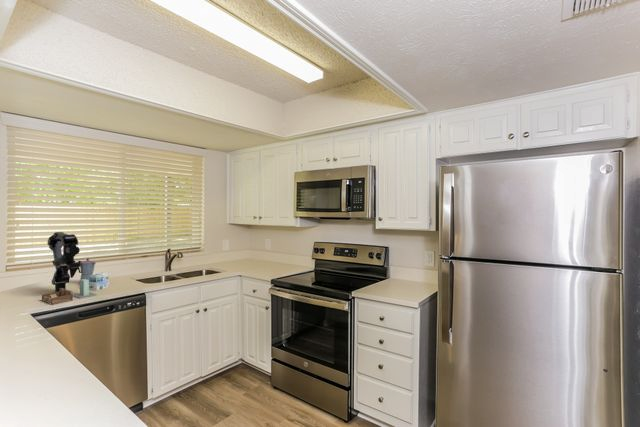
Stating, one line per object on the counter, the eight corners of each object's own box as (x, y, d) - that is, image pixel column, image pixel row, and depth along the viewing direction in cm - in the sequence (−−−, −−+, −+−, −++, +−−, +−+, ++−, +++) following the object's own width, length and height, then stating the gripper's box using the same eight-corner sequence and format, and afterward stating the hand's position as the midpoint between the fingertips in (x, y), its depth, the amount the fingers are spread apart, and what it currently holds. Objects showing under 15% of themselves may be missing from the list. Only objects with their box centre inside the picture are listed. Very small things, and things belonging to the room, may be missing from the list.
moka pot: (91, 285, 245) (91, 259, 245) (71, 285, 245) (71, 259, 245) (100, 283, 254) (100, 257, 254) (80, 283, 255) (80, 257, 254)
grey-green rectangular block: (79, 294, 217) (79, 279, 217) (84, 293, 220) (84, 279, 220) (83, 295, 215) (83, 280, 214) (88, 294, 217) (88, 279, 217)
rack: (41, 300, 204) (41, 291, 204) (61, 297, 213) (61, 288, 213) (52, 304, 196) (52, 294, 196) (72, 300, 205) (72, 291, 205)
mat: (71, 295, 216) (71, 295, 216) (88, 292, 225) (88, 292, 225) (79, 298, 210) (79, 297, 210) (97, 295, 218) (97, 294, 218)
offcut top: (49, 298, 205) (49, 294, 205) (55, 297, 207) (55, 294, 207) (51, 300, 199) (51, 297, 199) (57, 299, 201) (57, 296, 201)
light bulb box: (96, 290, 231) (96, 275, 231) (89, 290, 232) (88, 275, 232) (109, 287, 241) (109, 272, 241) (101, 286, 243) (101, 272, 243)
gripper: (47, 253, 214) (47, 277, 214) (60, 256, 204) (60, 280, 205) (67, 251, 223) (67, 274, 224) (80, 254, 214) (80, 277, 214)
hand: (68, 276), depth 216 cm, fingers open, 9 cm apart
